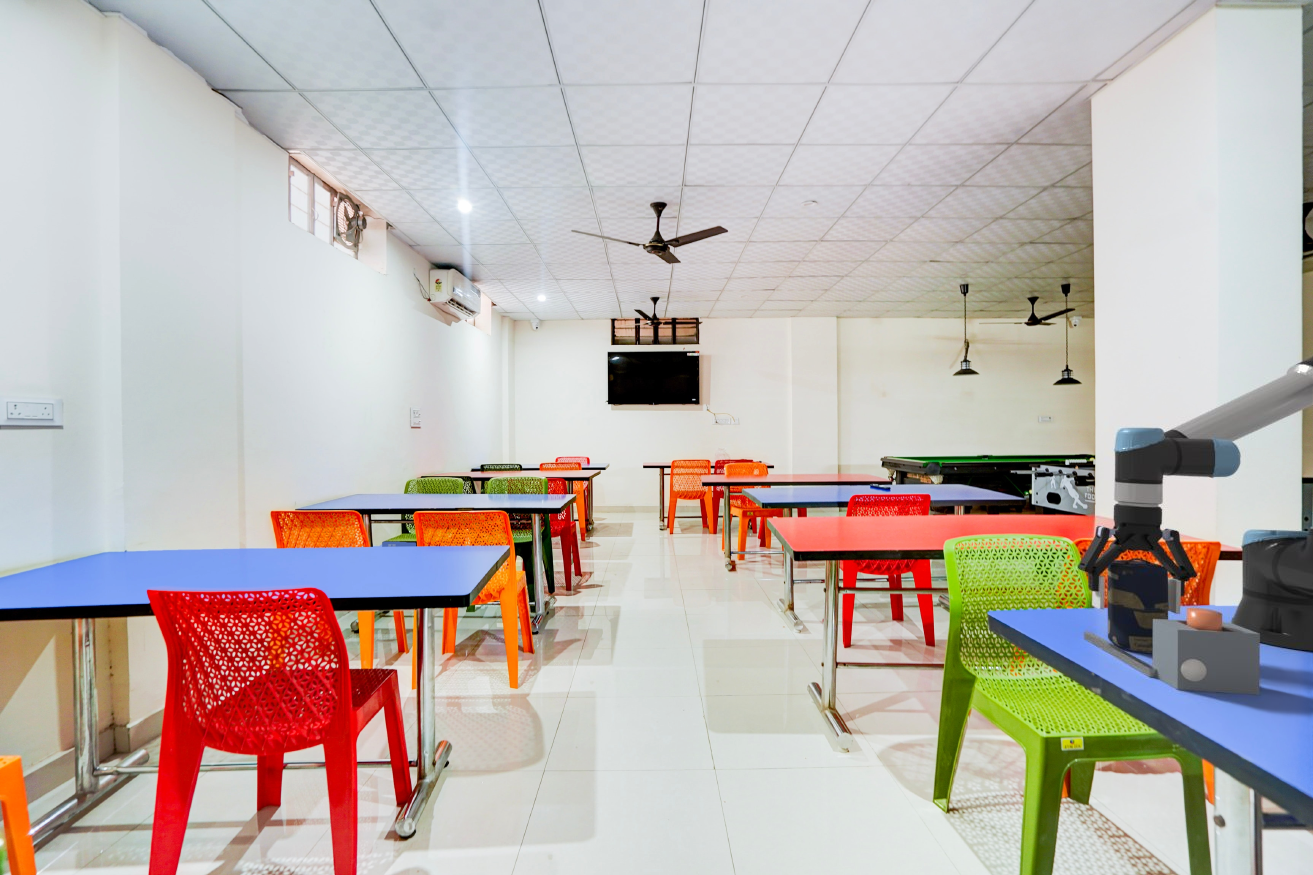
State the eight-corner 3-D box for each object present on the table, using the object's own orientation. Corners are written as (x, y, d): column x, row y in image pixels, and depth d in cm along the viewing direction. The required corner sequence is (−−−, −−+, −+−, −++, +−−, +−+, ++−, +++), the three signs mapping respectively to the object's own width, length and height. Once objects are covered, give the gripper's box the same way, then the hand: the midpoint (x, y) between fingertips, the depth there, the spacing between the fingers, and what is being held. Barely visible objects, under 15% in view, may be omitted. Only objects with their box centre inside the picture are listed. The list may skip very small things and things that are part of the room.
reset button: (1208, 634, 101) (1208, 608, 101) (1229, 642, 97) (1229, 615, 97) (1180, 632, 102) (1180, 607, 102) (1199, 641, 98) (1199, 614, 98)
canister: (1180, 658, 112) (1180, 564, 112) (1124, 654, 114) (1124, 561, 114) (1149, 641, 121) (1149, 554, 121) (1097, 638, 123) (1097, 552, 123)
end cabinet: (1229, 679, 102) (1229, 622, 102) (1261, 695, 95) (1261, 634, 95) (1152, 675, 103) (1152, 618, 103) (1179, 690, 97) (1179, 630, 97)
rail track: (1165, 642, 120) (1165, 635, 120) (1247, 682, 100) (1248, 674, 100) (1084, 638, 122) (1084, 631, 122) (1149, 677, 103) (1149, 668, 103)
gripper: (1193, 504, 119) (1190, 608, 119) (1060, 499, 123) (1057, 600, 123) (1223, 508, 112) (1220, 619, 112) (1080, 503, 115) (1077, 610, 115)
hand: (1135, 609), depth 117 cm, fingers open, 13 cm apart
